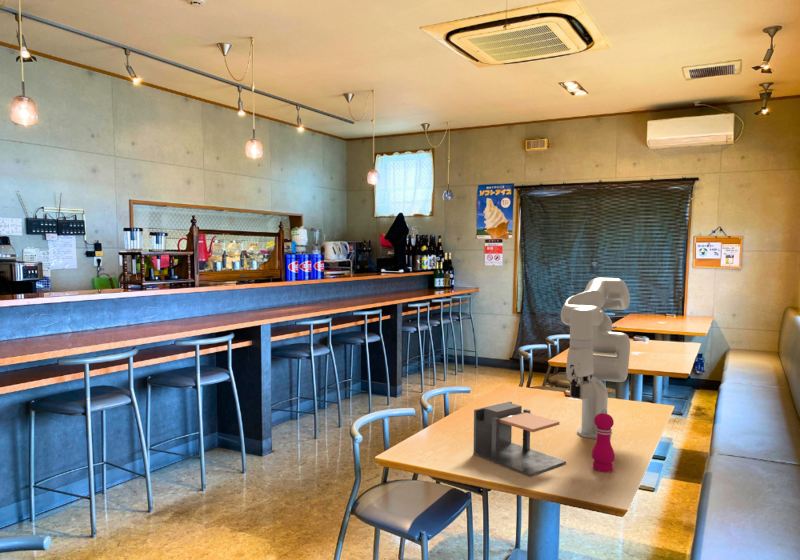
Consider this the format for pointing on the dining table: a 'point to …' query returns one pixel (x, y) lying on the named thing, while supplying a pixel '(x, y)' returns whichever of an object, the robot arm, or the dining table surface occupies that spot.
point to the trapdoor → (517, 417)
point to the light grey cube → (584, 390)
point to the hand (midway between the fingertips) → (580, 395)
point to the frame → (508, 447)
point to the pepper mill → (603, 443)
